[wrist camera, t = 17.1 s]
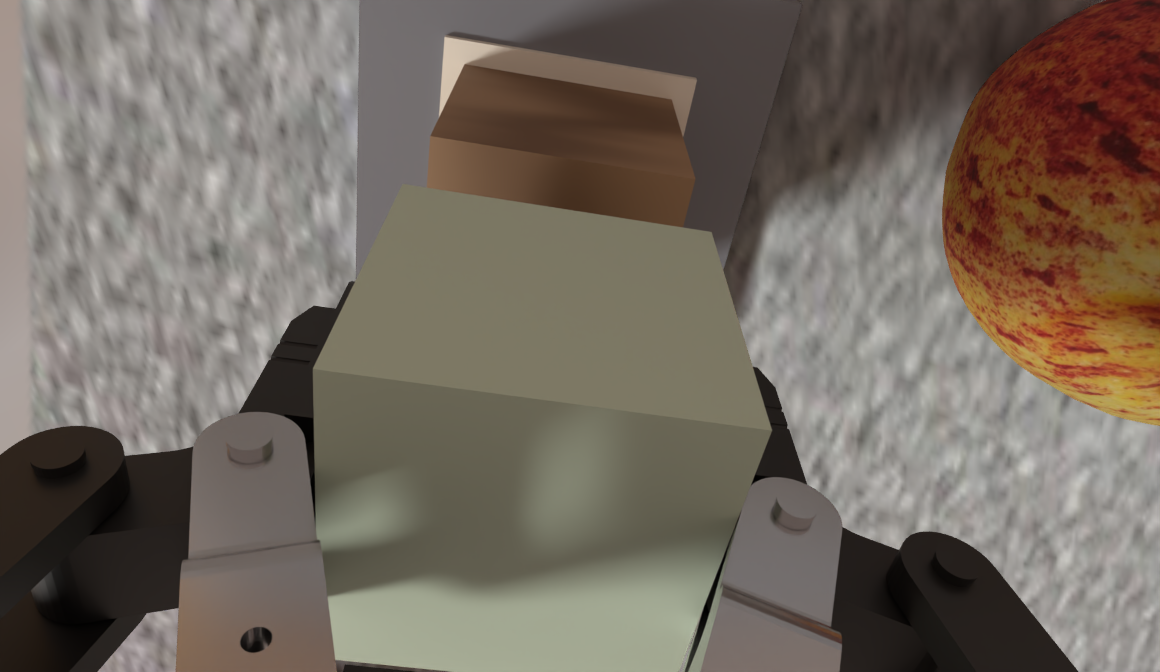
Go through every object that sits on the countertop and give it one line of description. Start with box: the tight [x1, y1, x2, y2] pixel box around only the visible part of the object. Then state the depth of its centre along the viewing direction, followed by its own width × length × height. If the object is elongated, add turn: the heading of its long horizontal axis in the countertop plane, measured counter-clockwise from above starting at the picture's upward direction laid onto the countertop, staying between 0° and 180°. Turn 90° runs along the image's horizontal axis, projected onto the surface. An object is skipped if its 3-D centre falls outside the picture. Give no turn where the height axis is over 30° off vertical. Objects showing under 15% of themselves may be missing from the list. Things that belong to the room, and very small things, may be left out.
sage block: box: [313, 184, 772, 672], centre depth 12 cm, size 5×5×5 cm
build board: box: [356, 0, 802, 279], centre depth 21 cm, size 10×10×1 cm
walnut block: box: [427, 64, 695, 227], centre depth 18 cm, size 5×5×5 cm
